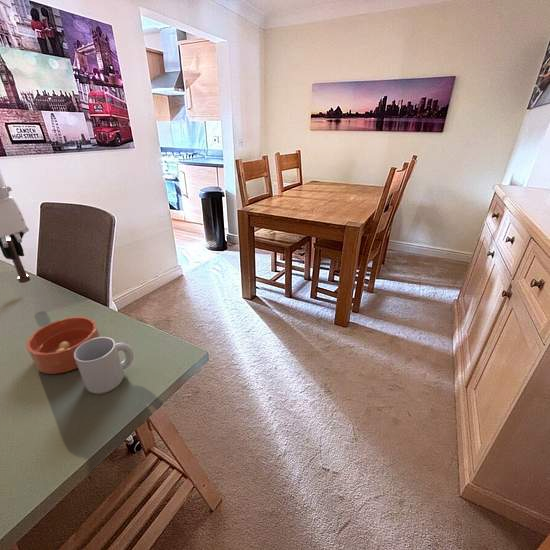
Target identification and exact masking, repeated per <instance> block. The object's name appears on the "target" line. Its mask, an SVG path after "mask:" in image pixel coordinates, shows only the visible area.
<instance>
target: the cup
mask: <svg viewBox="0 0 550 550" xmlns="http://www.w3.org/2000/svg"><path fill="white" fill-rule="evenodd" d="M120 351H122V352H123V353H124V360H123V361H121V359H120V355H119V352H120ZM74 358H75V361H76V363H77V366H78V368H77V369H78V371H79V373H80V376H81V379H82V381H83V384H84V386H85V388H86V390H87V391H88V392H89V393H91V394H96V395H101V394H106V393H109V392H111V391H113V390H115V389H116V388H117V387H118V386H119V385H121V383H122V381H123V380H124V376H125V373H124V370H125V369H127V368H129V367H130V366H131V364H132V363H133V361H134V351H133V348H132V347H131V346H130V345H129V344H128V343H126V342H117V343H116V341H115V340H114V339H113V338H111V337H108V336H100V337H98V338H94V339H90V340H88V341H86V342H84V343H83V344H81V345H80V346H79V347H78V348H77V349H76V350H75V352H74Z"/></svg>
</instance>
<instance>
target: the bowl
mask: <svg viewBox="0 0 550 550" xmlns="http://www.w3.org/2000/svg"><path fill="white" fill-rule="evenodd" d="M98 337H101V335H100V332H99V329H98V326H97V323H96V321H94V320H93V319H92V318H89V317H87V316H70V317H65V318H62V319H58V320H55V321H53V322H50V323H48V324H46V325H43V326H42V327H40V328H38V329H37V330H36V331H35V332H33V333H32V334H31V335H30V336H29V338H28V339H27V340H26V345H25V346H26V350H27V352H28V354H29V356H30V358H31V361H32V362H33V365H34V366H35V369H36V370H37V371H38V372H41V373H43V374H51V375H55V374H56V375H57V374H62V373H67V372H69V371H73V370H76V369H79V368H78V366H77V363H76V361H75V358H74V352H75V350H76V349H77V348H78V347H79V346H80V345H81V344H83V343H84V342H86V341H88V340H90V339H94V338H98ZM64 341H67V342H69V343H70V348H68V349H65V350H61V351H58V352H56V350H57V349H59V344H60V343H61V342H64Z"/></svg>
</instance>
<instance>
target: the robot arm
mask: <svg viewBox="0 0 550 550" xmlns="http://www.w3.org/2000/svg"><path fill="white" fill-rule="evenodd" d="M1 171H2V170H0V251H1V253H2V255H3V257H4V258H5V259H6V260H14V259H16V257H15V255H14V252H13V249H12V247H11V246H8V243H7V240H6V239H7V236H8V237H9V238H11V239H13V242H14V244H15V247H16V250H17V252H18V255H19V257H25V253H24V248H23V246H22V243H23V237H24V235H26V234H27V233H28V232H30V228H29V227H28V226H27V224H26V222H25V218H24V215H23V213H22V211H21V209H20V207H19V205H18V204H17V202H16V200H15V199H14V198H13V197H12V196H10V192H12V187H11V186H9V185H8V186H7V185H6V182H5V180H4V177H3V174H2V172H1Z"/></svg>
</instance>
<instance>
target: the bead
mask: <svg viewBox="0 0 550 550" xmlns="http://www.w3.org/2000/svg"><path fill="white" fill-rule="evenodd" d="M59 348H64V349H68V348H70V343H69V342H67V341H64V342H61V343H60V344H59Z"/></svg>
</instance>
